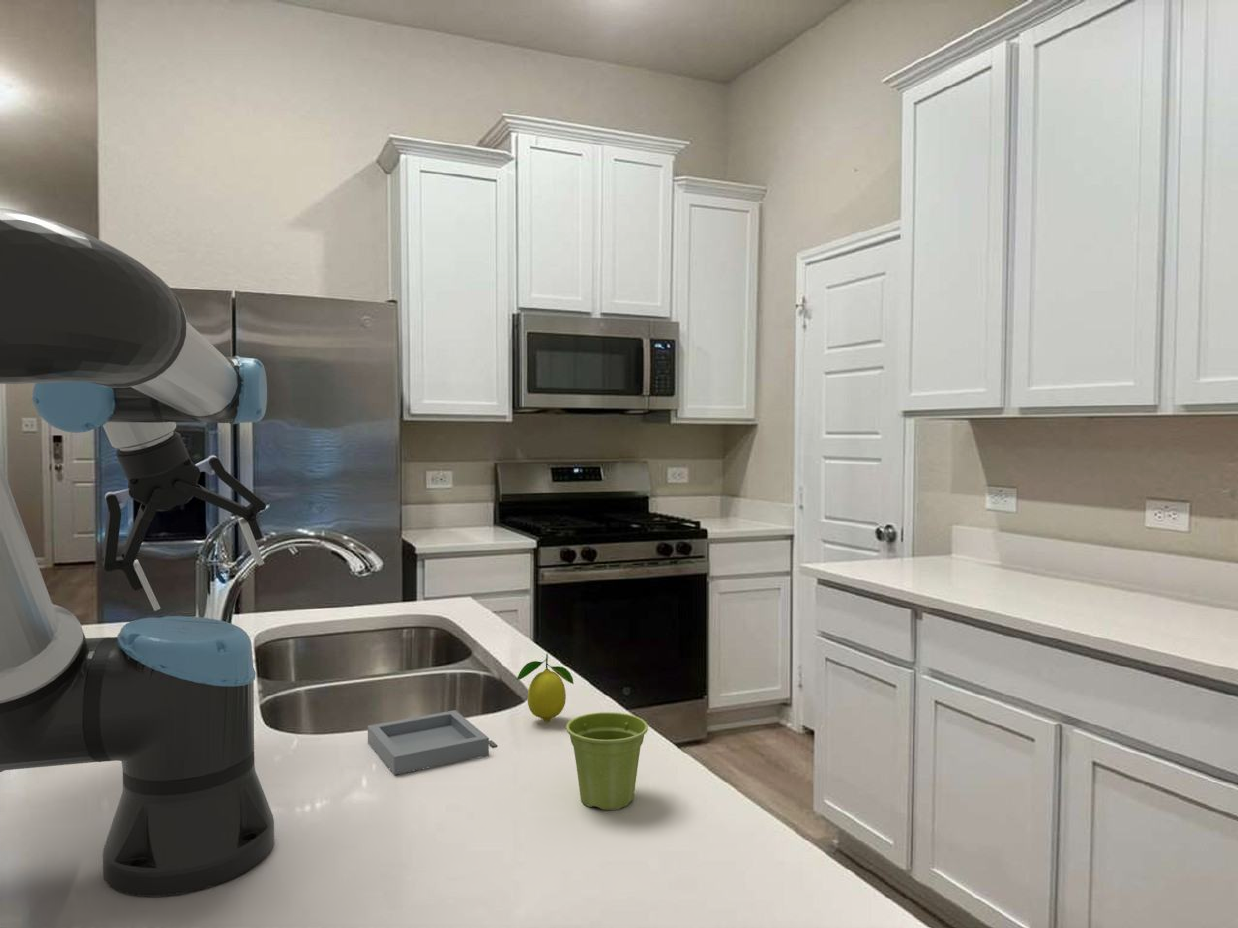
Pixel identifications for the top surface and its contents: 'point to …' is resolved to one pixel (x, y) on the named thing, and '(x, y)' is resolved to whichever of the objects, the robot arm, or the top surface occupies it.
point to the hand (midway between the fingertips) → (209, 583)
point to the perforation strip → (492, 743)
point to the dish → (427, 741)
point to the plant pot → (607, 756)
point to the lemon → (546, 690)
